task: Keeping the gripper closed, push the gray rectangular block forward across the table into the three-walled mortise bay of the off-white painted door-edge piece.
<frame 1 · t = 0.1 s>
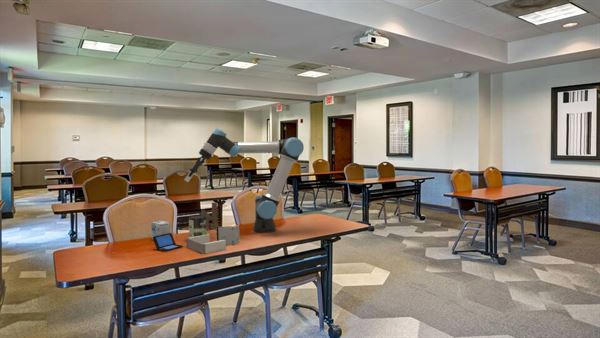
hand: (186, 180, 233), 36 cm above the table, tool tilted 35°, fingers open, 13 cm apart
gray rectangular block: (229, 244, 222), on the table
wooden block: (210, 229, 263), on the table
grey-green tall box: (198, 240, 233), on the table
handheld game console: (168, 249, 214), on the table
light bulb box: (161, 239, 235), on the table
mortise bay: (205, 248, 213), on the table
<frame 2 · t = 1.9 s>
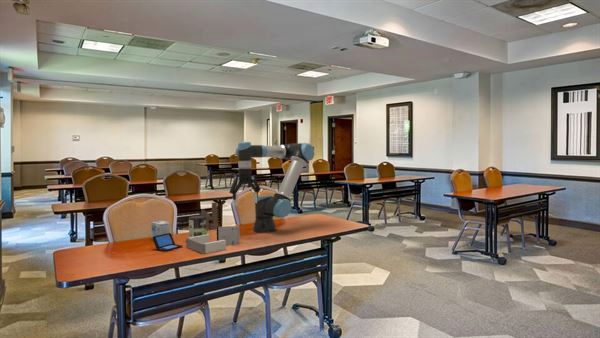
hand: (245, 204, 229), 22 cm above the table, tool pointing down, fingers open, 13 cm apart
nothing on the table moved.
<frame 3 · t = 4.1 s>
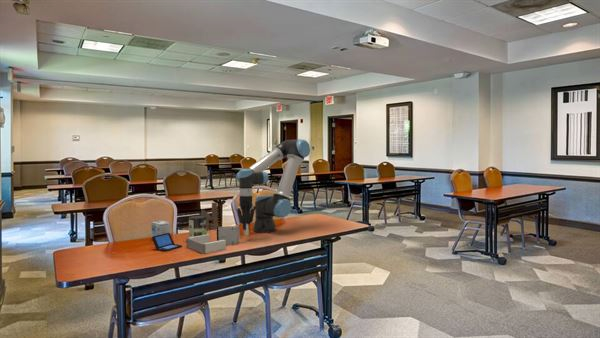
hand: (246, 234, 230), 3 cm above the table, tool pointing down, fingers closed
nothing on the table moved.
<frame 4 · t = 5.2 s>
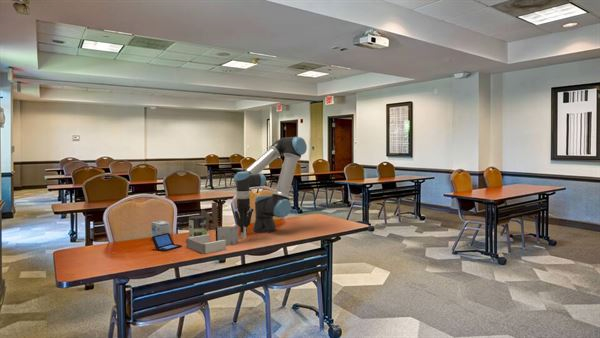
hand: (243, 237, 229), 2 cm above the table, tool pointing down, fingers closed
gray rectangular block: (228, 244, 222), on the table, touching hand
everything else where it was.
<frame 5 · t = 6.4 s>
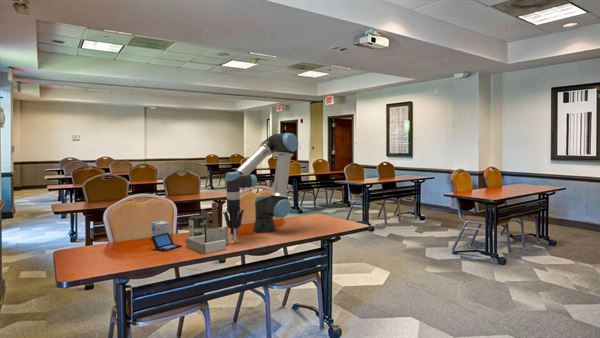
hand: (234, 239, 224), 2 cm above the table, tool pointing down, fingers closed
gray rectangular block: (217, 246, 218), on the table, touching hand
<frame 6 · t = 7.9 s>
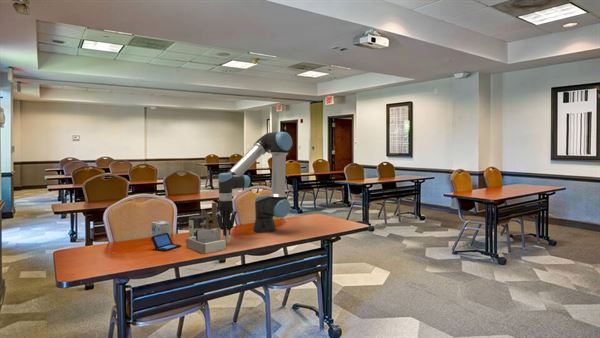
hand: (226, 241, 221), 2 cm above the table, tool pointing down, fingers closed
gray rectangular block: (209, 247, 215), on the table, touching hand
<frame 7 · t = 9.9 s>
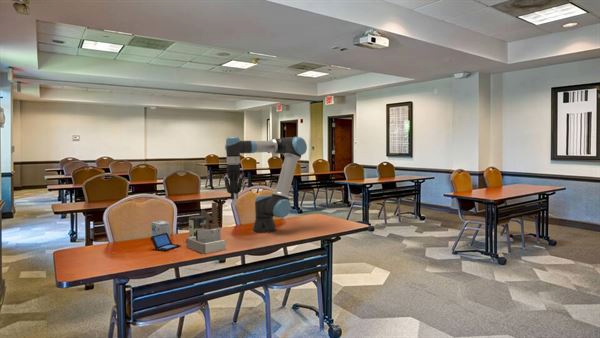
hand: (234, 204, 224), 22 cm above the table, tool pointing down, fingers closed
gray rectangular block: (209, 247, 215), on the table
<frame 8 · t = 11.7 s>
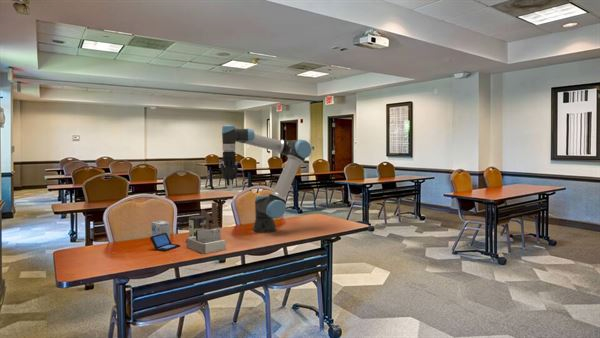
hand: (229, 190, 231), 29 cm above the table, tool pointing down, fingers closed
at the end: gray rectangular block inside the target area (2.5 cm from its centre), on the table; gray rectangular block moved 12.1 cm from its start; the gripper is holding nothing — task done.
